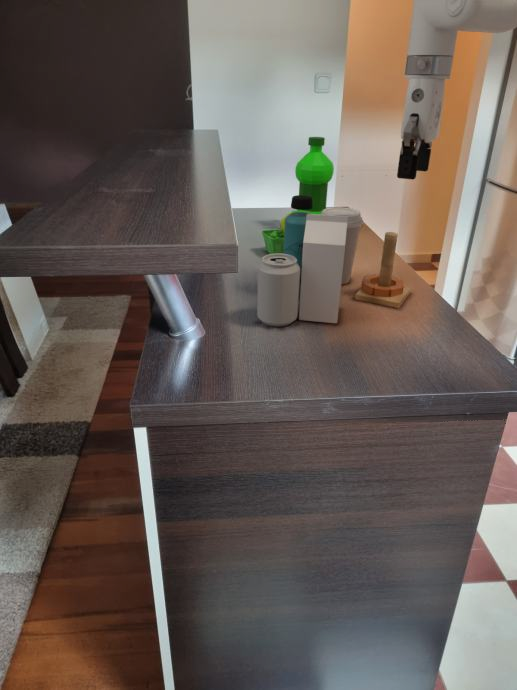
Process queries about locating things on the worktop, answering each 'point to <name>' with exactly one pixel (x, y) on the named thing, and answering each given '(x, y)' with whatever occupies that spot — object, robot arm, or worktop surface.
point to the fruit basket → (275, 238)
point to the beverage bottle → (296, 229)
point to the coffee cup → (348, 236)
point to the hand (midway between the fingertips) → (412, 174)
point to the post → (386, 276)
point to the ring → (391, 291)
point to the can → (278, 289)
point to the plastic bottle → (315, 175)
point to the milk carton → (322, 267)
